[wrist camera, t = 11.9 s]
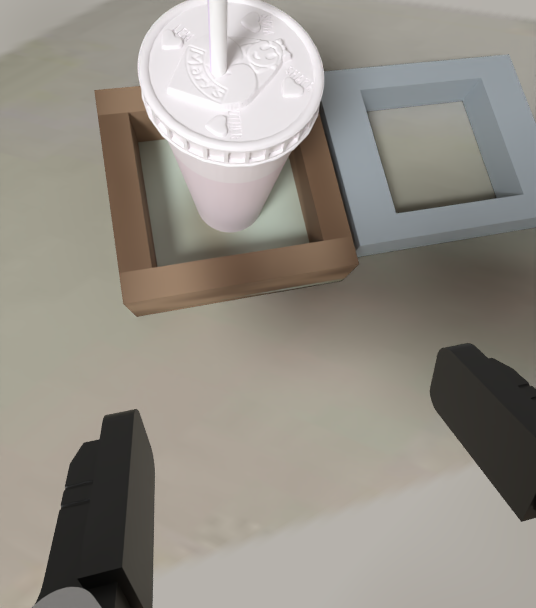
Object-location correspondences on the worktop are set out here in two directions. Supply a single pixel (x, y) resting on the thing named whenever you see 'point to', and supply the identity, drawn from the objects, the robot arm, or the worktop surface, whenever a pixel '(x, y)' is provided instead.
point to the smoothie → (230, 99)
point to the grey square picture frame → (424, 91)
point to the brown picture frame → (204, 239)
